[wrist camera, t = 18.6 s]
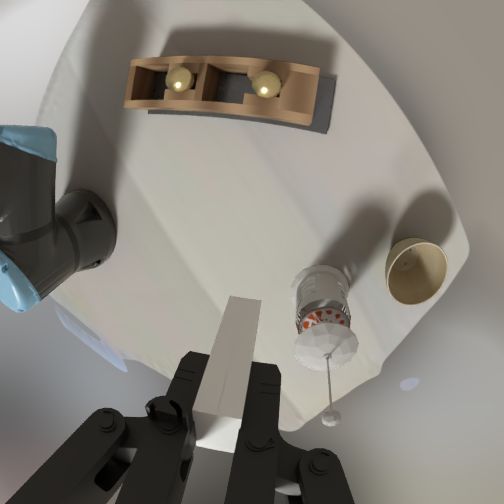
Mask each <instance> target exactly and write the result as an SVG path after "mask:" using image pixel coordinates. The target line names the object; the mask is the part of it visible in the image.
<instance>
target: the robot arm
mask: <svg viewBox="0 0 504 504" xmlns="http://www.w3.org/2000/svg"><path fill="white" fill-rule="evenodd" d="M56 147H57V136H56V133H55V132H54V131H53V130H52V129H51V128H48V127H38V126H20V125H19V126H18V125H0V300H1V301H2V302H3V303H4V304H5V305H6V306H7V307H8V308H10V309H11V310H13V311H15V312H25V311H27V310H28V309H30V308H31V307H32V306H34V305H35V304H38V303H39V302H40V301H41V300H42V299H43V298H44V297H46V296H47V295H48V294H49V293H50V292H52V291H53V290H54V289H55V288H56V287H58V286H59V285H60V284H61V283H62V282H64V281H65V280H66V279H67V278H69V277H70V276H71V275H72V274H74V273H75V272H79V271H83V270H88V269H92V268H96V267H98V266H100V265H101V264H102V263H104V262H105V261H106V260H107V259H108V258H109V257H110V256H111V254H112V252H113V250H114V247H115V241H116V233H115V226H114V222H113V219H112V216H111V214H110V212H109V210H108V208H107V206H106V205H105V203H104V202H103V201H102V200H101V199H100V198H99V197H98V196H97V195H95V194H94V193H92V192H90V191H88V190H82V189H80V190H75V191H72V192H70V193H67V194H66V195H64V196H63V197H62V198H61V199H60V200H59V201H58V202H57V203H56V204H55V178H56V162H57V158H56ZM260 306H261V300H254V299H247V298H240V297H234V296H230V297H229V300H228V303H227V306H226V309H225V312H224V315H223V318H222V321H221V324H220V327H219V330H218V333H217V336H216V339H215V342H214V345H213V348H212V351H211V354H210V355H207V354H202V353H197V352H192V351H190V352H188V353H187V354H186V355H185V356H184V357H183V358H182V359H181V361H180V363H179V365H178V368H177V370H176V372H175V375H174V378H173V379H172V382H171V384H170V386H169V389H168V391H167V394H166V396H159V397H155V398H153V399H152V400H150V401H149V402H148V403H147V404H146V406H145V408H146V411H147V414H148V416H146V417H123V415H122V414H121V413H120V412H118V411H117V410H114V409H112V408H102V409H98V410H97V411H95V412H94V413H92V415H91V416H90V417H89V418H88V419H87V420H86V421H85V422H84V423H83V424H82V425H81V426H80V427H79V428H78V429H77V430H76V431H75V432H74V433H73V434H72V435H71V436H70V437H69V438H68V439H67V440H66V442H64V444H62V445H61V446H60V448H59V449H58V450H57V451H56V452H55V453H54V454H53V455H52V456H51V457H50V458H49V459H48V460H47V461H46V462H45V463H44V464H43V465H42V466H41V467H40V468H39V469H38V470H37V471H36V472H35V473H34V474H33V475H32V476H31V477H30V478H29V480H28V481H27V482H26V483H25V484H24V485H23V486H22V487H21V488H20V489H19V490H18V491H17V492H16V493H15V494H14V495H13V496H12V497H11V498H10V499H9V500H8V501H7V502H6V503H5V504H106V503H107V502H108V501H109V499H111V497H112V496H113V495H114V493H115V492H116V491H117V490H118V489H119V487H120V486H121V485H122V484H123V485H122V487H121V490H120V492H119V495H118V497H117V500H116V502H115V504H181V502H182V498H183V494H184V491H185V487H186V483H187V480H188V476H189V473H190V469H191V466H192V462H193V450H194V447H195V444H196V445H197V446H200V447H205V448H210V449H215V450H220V451H225V452H232V453H234V457H233V462H232V467H231V473H230V477H229V482H228V487H227V493H226V498H225V502H224V504H274V497H275V490H276V491H279V492H281V493H283V494H284V497H285V503H286V504H355V503H354V500H353V497H352V494H351V491H350V489H349V486H348V483H347V480H346V477H345V474H344V471H343V468H342V466H341V463H340V460H339V459H338V457H337V455H335V454H334V453H333V452H331V451H330V450H326V449H323V448H321V449H320V448H315V449H312V450H310V451H306V450H303V449H300V448H297V447H294V446H292V445H290V444H288V443H287V442H285V441H284V440H283V438H282V437H281V436H280V433H279V431H278V420H279V405H280V388H281V387H280V386H281V373H280V371H279V369H278V367H277V365H275V364H267V363H260V362H253V361H252V359H253V353H254V346H255V340H256V333H257V327H258V320H259V313H260Z"/></svg>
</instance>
